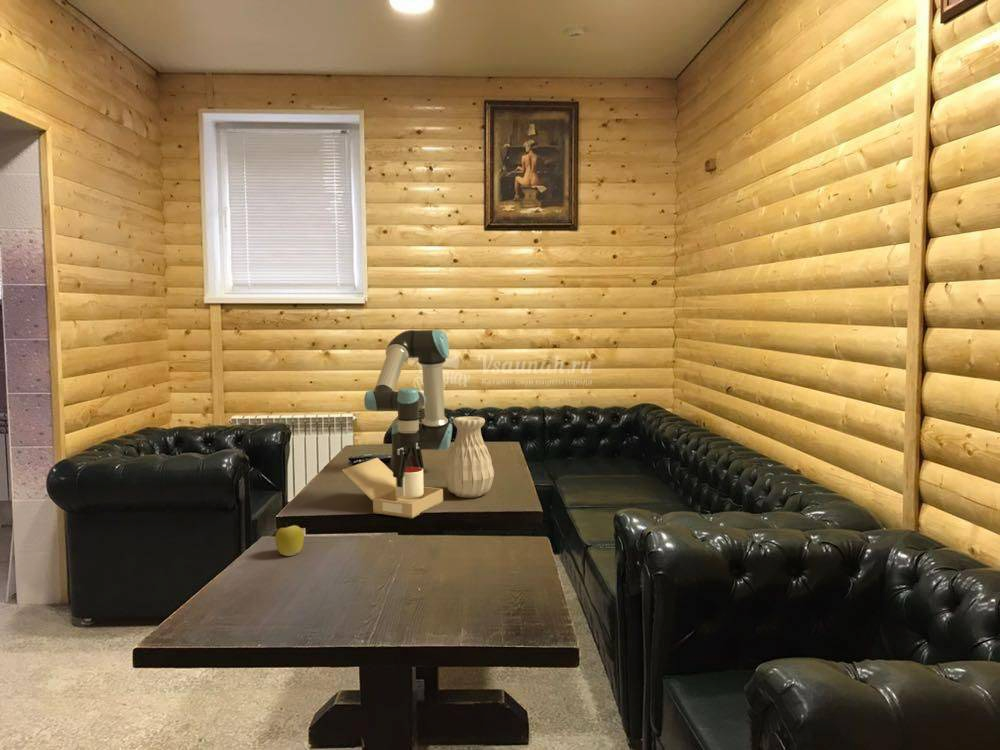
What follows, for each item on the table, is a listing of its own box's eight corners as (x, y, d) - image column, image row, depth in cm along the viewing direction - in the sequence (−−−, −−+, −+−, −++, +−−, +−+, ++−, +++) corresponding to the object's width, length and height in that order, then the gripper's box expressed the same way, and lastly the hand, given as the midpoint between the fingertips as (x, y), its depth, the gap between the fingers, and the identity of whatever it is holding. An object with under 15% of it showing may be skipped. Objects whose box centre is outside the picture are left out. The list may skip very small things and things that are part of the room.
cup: (391, 499, 238) (391, 472, 237) (401, 492, 247) (401, 466, 247) (418, 501, 236) (417, 473, 235) (427, 494, 245) (426, 467, 245)
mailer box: (406, 497, 255) (406, 484, 255) (443, 502, 249) (442, 488, 249) (373, 512, 235) (372, 499, 235) (412, 518, 229) (411, 504, 228)
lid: (406, 484, 255) (405, 486, 255) (377, 457, 259) (376, 458, 260) (372, 499, 235) (371, 500, 235) (342, 469, 239) (341, 470, 239)
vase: (451, 486, 272) (451, 414, 269) (499, 489, 268) (499, 415, 265) (436, 499, 252) (436, 421, 250) (488, 502, 248) (488, 423, 246)
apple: (306, 553, 192) (295, 521, 190) (279, 563, 191) (267, 531, 189) (310, 544, 199) (298, 514, 198) (283, 553, 198) (272, 523, 197)
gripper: (415, 426, 252) (416, 483, 253) (382, 435, 231) (382, 498, 233) (432, 427, 249) (433, 485, 250) (400, 437, 228) (401, 500, 230)
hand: (408, 491), depth 242 cm, fingers closed on cup, 10 cm apart
